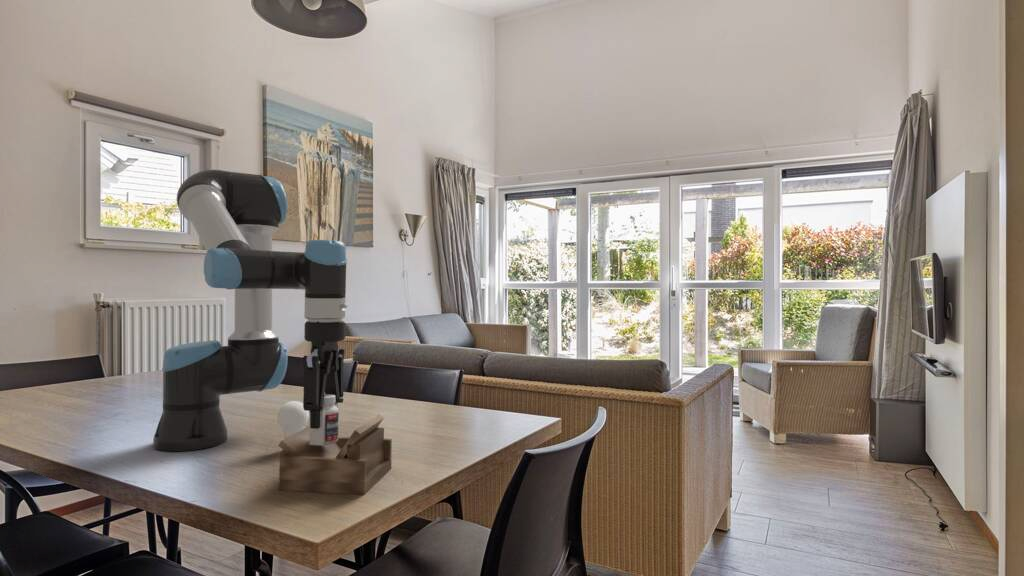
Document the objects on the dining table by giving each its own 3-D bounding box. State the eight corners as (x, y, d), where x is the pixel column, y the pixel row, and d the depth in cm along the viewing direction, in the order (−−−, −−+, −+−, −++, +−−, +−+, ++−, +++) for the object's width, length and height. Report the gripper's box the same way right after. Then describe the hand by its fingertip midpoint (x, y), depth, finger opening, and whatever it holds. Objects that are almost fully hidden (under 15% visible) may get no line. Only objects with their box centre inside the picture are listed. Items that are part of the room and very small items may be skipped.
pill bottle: (329, 446, 108) (329, 399, 108) (304, 444, 109) (304, 398, 109) (343, 439, 113) (343, 394, 113) (319, 437, 114) (319, 392, 114)
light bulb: (282, 446, 133) (282, 398, 133) (311, 445, 133) (312, 398, 133) (272, 454, 126) (273, 404, 126) (303, 454, 127) (304, 404, 127)
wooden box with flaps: (274, 489, 104) (275, 428, 104) (312, 464, 119) (312, 410, 119) (364, 494, 103) (365, 431, 103) (391, 468, 118) (391, 413, 117)
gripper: (323, 323, 102) (321, 455, 102) (361, 318, 120) (360, 429, 120) (282, 322, 103) (281, 453, 103) (327, 317, 121) (325, 428, 121)
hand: (324, 440), depth 111 cm, fingers closed on pill bottle, 5 cm apart
